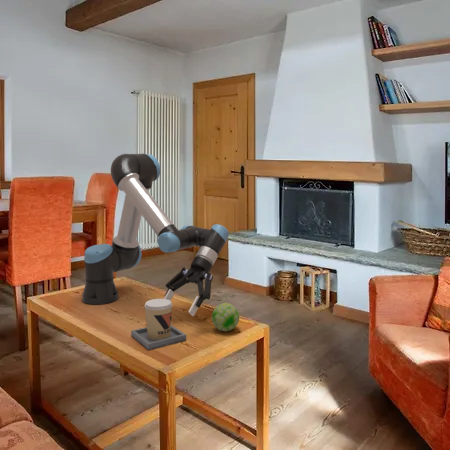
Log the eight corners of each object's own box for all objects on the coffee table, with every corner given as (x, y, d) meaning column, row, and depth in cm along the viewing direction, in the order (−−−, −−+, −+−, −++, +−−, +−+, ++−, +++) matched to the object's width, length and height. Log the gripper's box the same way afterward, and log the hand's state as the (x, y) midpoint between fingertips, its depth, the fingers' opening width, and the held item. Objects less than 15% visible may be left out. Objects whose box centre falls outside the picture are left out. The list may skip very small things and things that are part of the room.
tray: (131, 336, 159) (131, 330, 159) (167, 327, 167) (167, 322, 167) (148, 350, 148) (148, 344, 148) (186, 340, 156) (186, 334, 155)
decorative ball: (222, 323, 171) (221, 297, 170) (244, 329, 166) (244, 302, 164) (206, 331, 163) (205, 304, 162) (229, 338, 158) (229, 310, 156)
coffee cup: (158, 344, 151) (156, 309, 149) (139, 336, 157) (138, 303, 155) (178, 335, 158) (177, 302, 156) (160, 329, 164) (159, 296, 162)
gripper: (234, 271, 167) (208, 322, 158) (184, 261, 183) (158, 308, 173) (225, 260, 162) (197, 312, 153) (175, 251, 178) (147, 298, 168)
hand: (176, 310), depth 163 cm, fingers open, 13 cm apart
